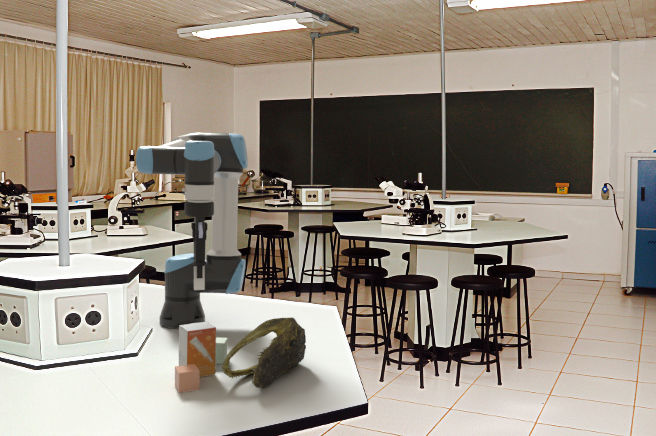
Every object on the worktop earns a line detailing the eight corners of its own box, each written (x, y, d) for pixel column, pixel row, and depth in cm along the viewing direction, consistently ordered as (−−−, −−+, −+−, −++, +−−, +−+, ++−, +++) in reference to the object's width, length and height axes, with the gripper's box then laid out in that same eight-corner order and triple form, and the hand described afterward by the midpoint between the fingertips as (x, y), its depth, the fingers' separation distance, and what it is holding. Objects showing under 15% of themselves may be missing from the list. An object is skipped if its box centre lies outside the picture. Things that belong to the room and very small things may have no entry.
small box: (186, 380, 156) (186, 331, 154) (178, 372, 161) (178, 324, 159) (216, 374, 160) (216, 326, 159) (206, 367, 165) (207, 320, 164)
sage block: (209, 357, 173) (209, 337, 173) (227, 358, 173) (227, 337, 173) (206, 363, 168) (206, 342, 168) (224, 364, 168) (224, 343, 168)
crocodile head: (263, 336, 178) (295, 305, 172) (294, 384, 172) (329, 353, 167) (200, 352, 154) (235, 316, 149) (234, 408, 148) (272, 372, 143)
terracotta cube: (174, 385, 152) (174, 366, 152) (194, 382, 154) (194, 363, 154) (178, 392, 148) (179, 373, 147) (199, 390, 150) (199, 370, 149)
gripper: (183, 198, 162) (183, 283, 165) (185, 203, 150) (185, 296, 153) (211, 198, 164) (211, 283, 167) (216, 203, 152) (215, 295, 155)
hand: (199, 289), depth 160 cm, fingers closed
